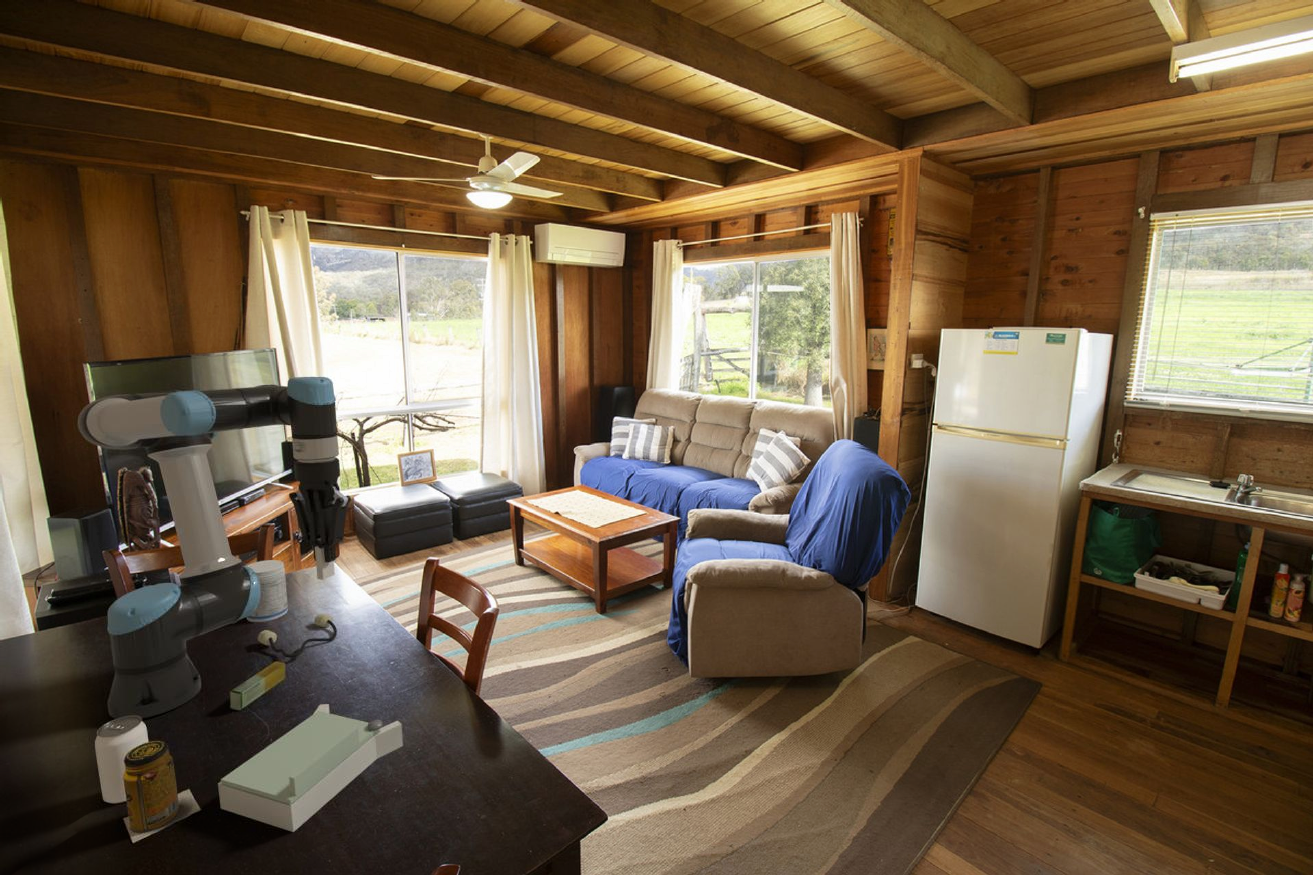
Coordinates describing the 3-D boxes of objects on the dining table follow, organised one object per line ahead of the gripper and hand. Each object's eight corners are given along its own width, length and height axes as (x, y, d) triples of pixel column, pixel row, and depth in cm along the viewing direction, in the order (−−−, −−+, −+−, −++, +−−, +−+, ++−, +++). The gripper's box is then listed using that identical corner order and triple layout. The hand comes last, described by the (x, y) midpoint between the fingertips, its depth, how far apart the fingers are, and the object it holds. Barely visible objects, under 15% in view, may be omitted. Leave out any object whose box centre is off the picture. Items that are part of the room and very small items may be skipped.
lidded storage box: (303, 835, 93) (301, 809, 92) (211, 805, 98) (208, 780, 98) (405, 743, 114) (404, 721, 113) (324, 723, 120) (322, 702, 119)
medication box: (240, 711, 124) (240, 694, 123) (229, 708, 124) (228, 691, 123) (286, 678, 135) (285, 662, 134) (275, 675, 136) (275, 659, 135)
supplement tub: (240, 619, 163) (234, 567, 161) (276, 606, 171) (272, 556, 169) (258, 628, 158) (253, 575, 156) (295, 614, 166) (291, 563, 164)
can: (124, 807, 98) (114, 740, 96) (92, 801, 99) (82, 735, 97) (163, 779, 104) (155, 716, 102) (133, 774, 105) (124, 711, 103)
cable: (354, 637, 152) (353, 624, 152) (283, 663, 139) (282, 648, 139) (325, 621, 161) (324, 609, 161) (256, 643, 149) (255, 630, 148)
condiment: (123, 819, 95) (113, 751, 93) (189, 789, 102) (181, 725, 100) (133, 844, 91) (122, 772, 89) (201, 811, 97) (193, 744, 95)
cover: (221, 783, 97) (218, 762, 96) (321, 712, 115) (319, 694, 114) (293, 805, 92) (291, 782, 92) (385, 727, 111) (384, 709, 110)
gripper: (272, 459, 113) (283, 579, 117) (327, 465, 109) (337, 588, 113) (306, 453, 120) (316, 565, 124) (359, 457, 116) (367, 574, 120)
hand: (326, 576), depth 118 cm, fingers closed
